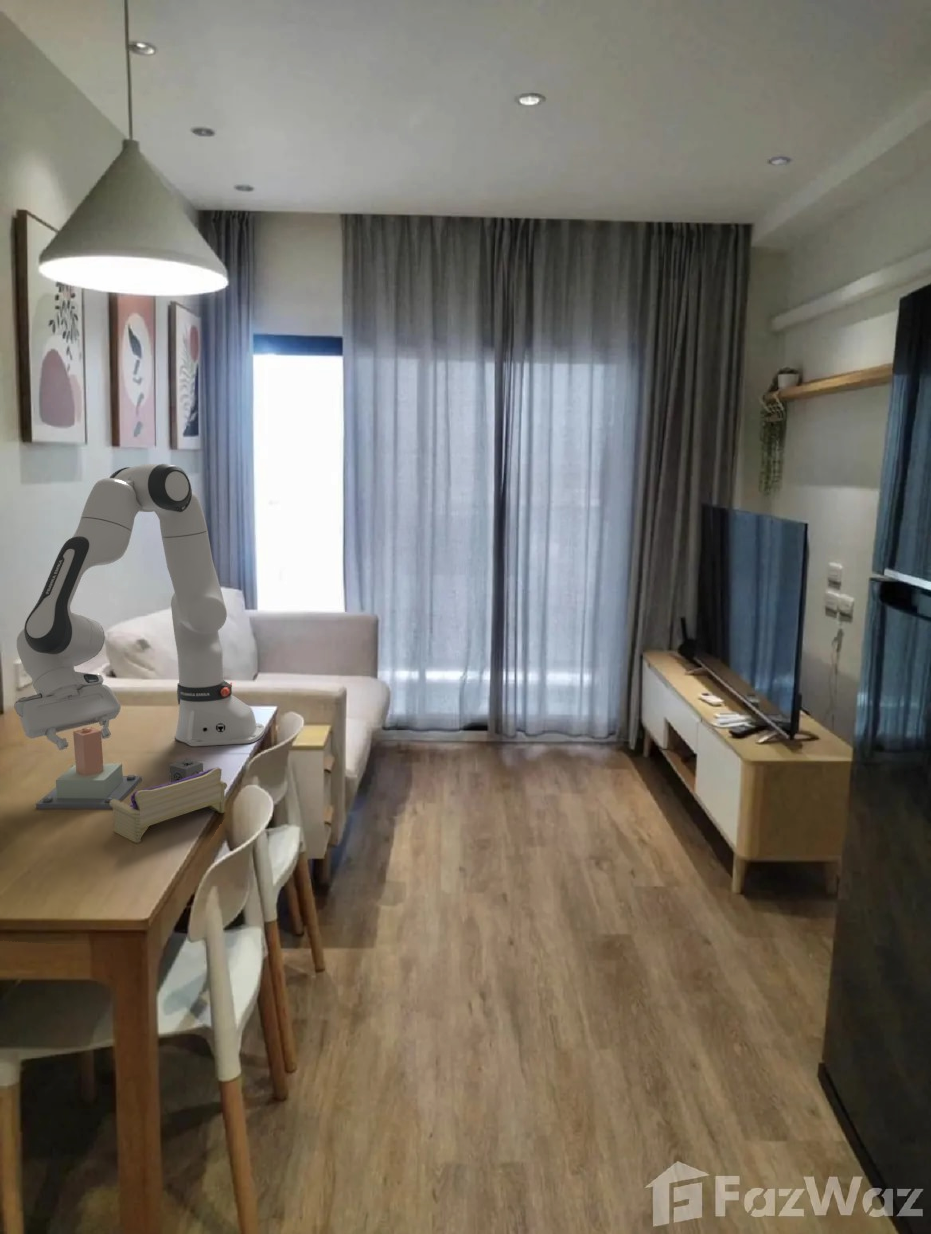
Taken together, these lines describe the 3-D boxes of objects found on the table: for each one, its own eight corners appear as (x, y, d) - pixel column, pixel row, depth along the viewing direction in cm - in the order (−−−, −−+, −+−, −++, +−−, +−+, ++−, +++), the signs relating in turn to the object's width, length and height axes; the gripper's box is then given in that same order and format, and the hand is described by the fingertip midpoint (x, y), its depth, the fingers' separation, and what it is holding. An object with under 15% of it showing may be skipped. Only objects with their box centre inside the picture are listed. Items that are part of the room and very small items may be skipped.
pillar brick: (94, 767, 186) (91, 724, 185) (103, 771, 184) (100, 728, 182) (76, 772, 183) (72, 728, 182) (85, 776, 181) (82, 732, 179)
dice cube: (186, 791, 187) (185, 769, 186) (170, 787, 189) (169, 765, 188) (204, 784, 191) (202, 762, 190) (187, 779, 194) (186, 758, 193)
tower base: (141, 780, 193) (140, 759, 192) (114, 808, 177) (113, 785, 176) (69, 780, 192) (68, 758, 191) (36, 808, 177) (34, 785, 176)
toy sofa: (204, 801, 182) (202, 755, 180) (228, 812, 177) (227, 765, 175) (110, 833, 166) (107, 783, 164) (134, 846, 161) (131, 794, 159)
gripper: (14, 691, 178) (41, 747, 173) (108, 673, 193) (134, 723, 189) (6, 708, 181) (32, 763, 177) (99, 688, 197) (124, 738, 193)
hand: (85, 742), depth 183 cm, fingers open, 8 cm apart
